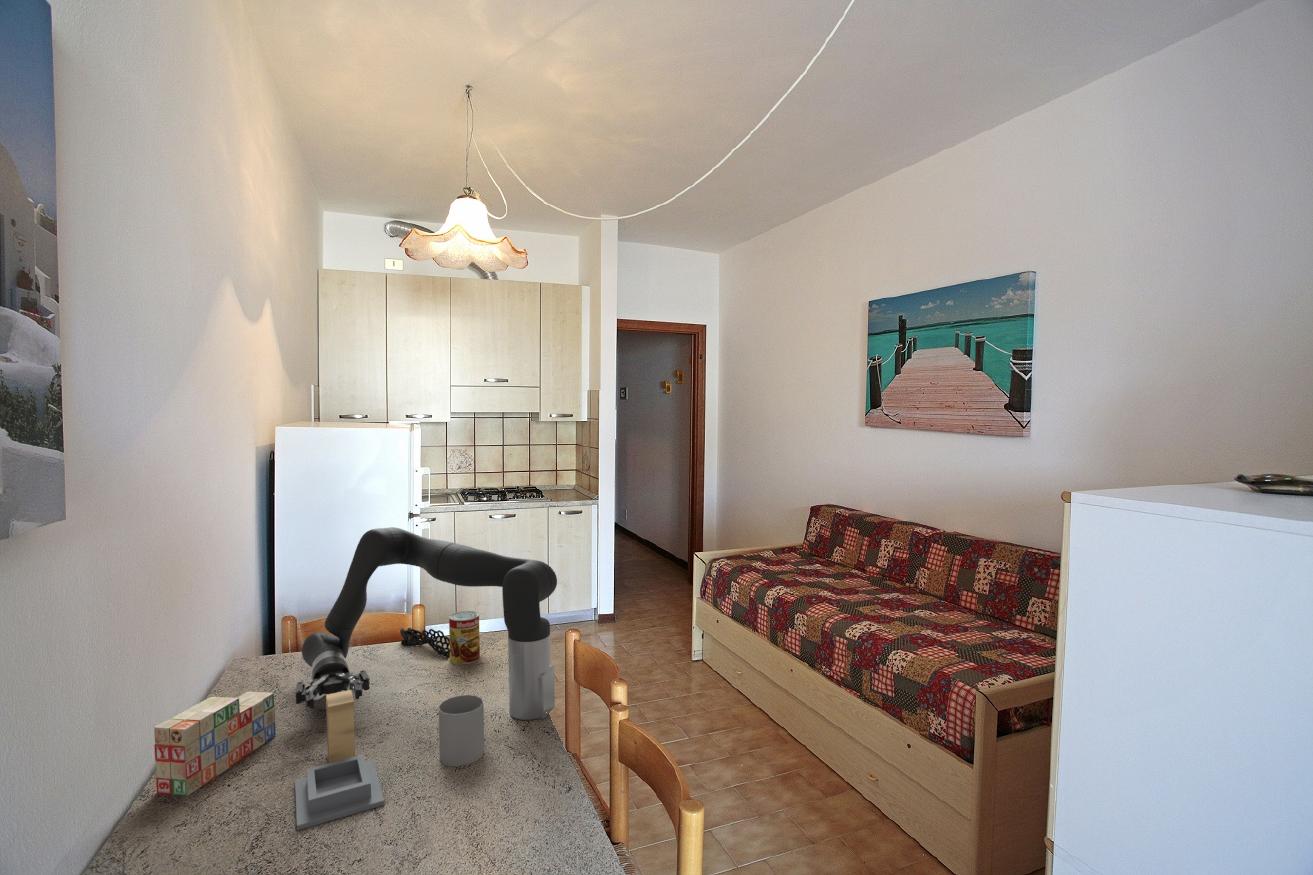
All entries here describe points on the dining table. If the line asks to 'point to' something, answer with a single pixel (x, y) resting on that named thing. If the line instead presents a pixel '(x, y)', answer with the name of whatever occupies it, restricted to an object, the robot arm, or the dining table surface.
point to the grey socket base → (337, 791)
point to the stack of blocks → (210, 740)
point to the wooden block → (340, 726)
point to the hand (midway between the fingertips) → (335, 699)
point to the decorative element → (426, 640)
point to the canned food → (464, 637)
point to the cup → (461, 730)
